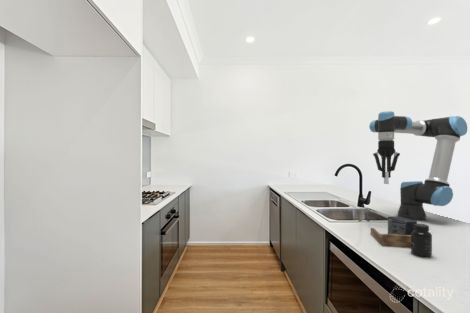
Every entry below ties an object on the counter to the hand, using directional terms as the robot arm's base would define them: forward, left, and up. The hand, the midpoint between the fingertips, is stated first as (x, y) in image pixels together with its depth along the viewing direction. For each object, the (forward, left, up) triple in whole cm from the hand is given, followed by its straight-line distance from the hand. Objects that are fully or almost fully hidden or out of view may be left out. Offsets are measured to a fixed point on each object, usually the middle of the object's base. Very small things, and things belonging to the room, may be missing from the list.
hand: (386, 183), depth 139 cm
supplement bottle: (-1, +37, -25) cm, 44 cm away
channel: (+2, +20, -24) cm, 32 cm away
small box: (0, +21, -25) cm, 32 cm away
